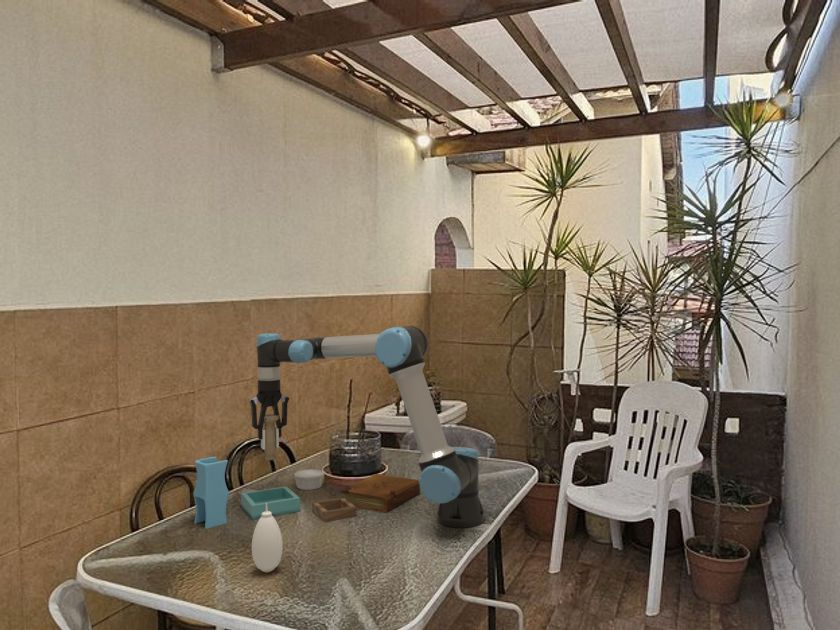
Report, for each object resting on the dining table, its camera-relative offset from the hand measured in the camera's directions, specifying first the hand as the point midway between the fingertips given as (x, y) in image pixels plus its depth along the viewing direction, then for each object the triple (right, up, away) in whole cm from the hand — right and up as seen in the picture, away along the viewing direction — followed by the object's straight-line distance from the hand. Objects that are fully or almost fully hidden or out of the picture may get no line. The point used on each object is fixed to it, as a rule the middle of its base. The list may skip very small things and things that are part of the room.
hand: (269, 447), depth 212 cm
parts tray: (0, -21, 0) cm, 21 cm away
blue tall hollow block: (-16, -22, -13) cm, 29 cm away
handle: (0, -4, 0) cm, 4 cm away
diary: (+37, -21, +9) cm, 44 cm away
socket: (+23, -21, -6) cm, 31 cm away
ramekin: (+9, -21, +26) cm, 34 cm away
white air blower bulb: (+11, -22, -49) cm, 55 cm away
